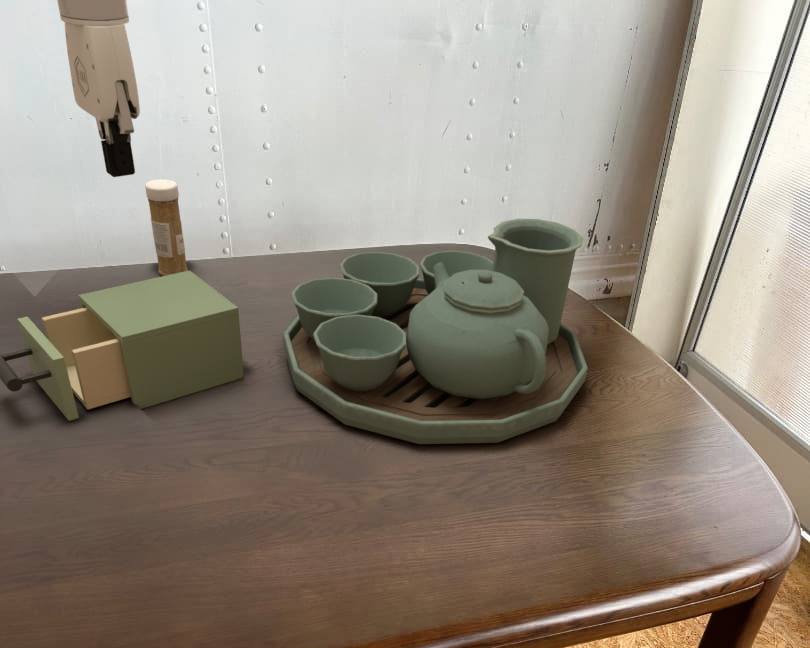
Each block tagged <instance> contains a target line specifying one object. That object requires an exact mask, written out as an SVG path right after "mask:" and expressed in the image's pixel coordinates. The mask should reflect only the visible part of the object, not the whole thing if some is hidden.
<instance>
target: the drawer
mask: <svg viewBox="0 0 810 648" xmlns="http://www.w3.org/2000/svg"><path fill="white" fill-rule="evenodd" d="M16 321H17V324H18V328H19V330H20V334H21V338H22V341H23V344H24V348H23V349H20V350H17V351H12V352H8V353H4V354H0V380H1V381H2V383H3V384H4V385H5V387H6V388H7V390H9V391H10V392H14V393H15V392H19V391H20V390H22V388H23V385H26V384H29V383H33V382H36V383H37V384H38V385H39V387H40V388H41V389H42V390H43V391H44V392H45V394H46V395H47V396H48V397H49V398H50V400H51V401H52V402H53V404H55V406H56V407H57V408H58V409H59V411H60V412H61V413H62V414H63V415H64V417H65V418H66V419H67V421H73V420H77V419H79V418H80V415H79V412H78V408H77V404H76V401H75V397H76V398H77V399H78V400H79V401H80V403H81V404H82V405H83V406H84V408H85V409H86V410H91V409H95V408H98V407H101V406H104V405H108V404H111V403H115V402H118V401H121V400H125V399H128V398H129V399H130V397H131V394H130V389H129V384H128V378H127V373H126V368H125V363H124V358H123V353H122V347H121V342H120V340H119V339H118V338H117V337H116V336H115V335H114V334H113V333H112V332H111V331H110V330H109V329H108V328H107V327H106V326H105V325H104V324H103V323H102V322H101V321H100V320H99V319H98V318H97V317H96V316H95V315H94V314H93V313H92V312H91V311H90V310H89V309H87V308H86V307H85V308H81V307H80V308H77V309H73V310H69V311H68V310H67V311H63V312H59V313H56V314H50V315H46V316H43V317H41V321H42V325H43V329H44V333H45V334H43V332H42V330H40V329H39V328H38V327H37V325H35V323H34V322H33V321H32V320H31V319H30V317H28V316H22V317H18V318H17V320H16ZM24 357H27V360H28V362H29V366H30V368H31V369H30V370H31V373H32V374H29V375H25V376H21V377H19V376H18V375H17V373H16V372H15V371H14V370H13V369H12V367H11V365H9V364H8V362H7V361H12V360H16V359H20V358H24ZM74 395H75V396H74Z"/></svg>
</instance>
